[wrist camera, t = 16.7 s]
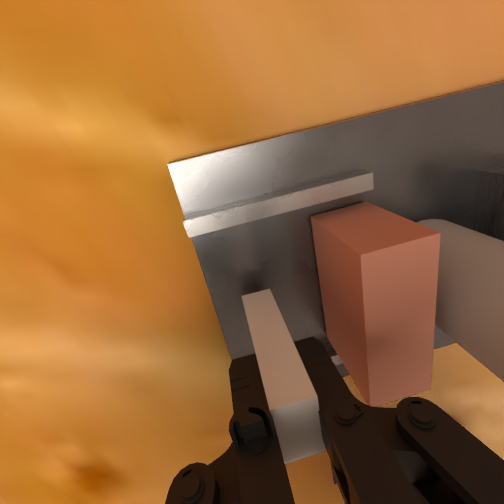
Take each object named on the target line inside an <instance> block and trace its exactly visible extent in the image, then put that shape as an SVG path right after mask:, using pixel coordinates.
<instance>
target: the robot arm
mask: <svg viewBox="0 0 504 504" xmlns="http://www.w3.org/2000/svg"><path fill="white" fill-rule="evenodd" d="M242 300H243V304H244V309H245V313H246V317H247V321H248V325H249V329H250V333H251V337H252V341H253V345H254V349H255V353H254V354H251V355H247V356H243V357H240V358H236V359H233V360H232V363H231V365H230V368H229V376H230V385H231V392H232V402H233V410H234V414H233V416H232V418H231V420H230V424H229V432H230V435H231V438H232V441H233V442H232V444H231V446H230V447H229V448H228V450H227V451H226V452H225V453H224V454H223V455H221V456H220V457H219V458H217V459H216V460H215V461H213V462H212V463H210V464H209V465H206V464H203V463H198V462H197V463H193V464H189V465H188V466H186V467H185V468H183V469H182V470H180V472H179V473H178V474H177V475H176V477H175V478H174V479H173V482H172V484H171V486H170V488H169V492H168V495H167V499H166V502H165V504H295V502H294V498H293V494H292V491H291V487H290V483H289V479H288V475H287V471H286V467H285V464H287V463H290V462H293V461H296V460H300V459H303V458H306V457H309V456H313V455H316V454H319V453H322V452H326V450H325V447H326V449H327V452H328V454H329V457H330V460H331V467H332V474H333V479H334V484H336V483H337V484H338V486H339V489H340V491H341V494H342V496H343V499H344V502H345V504H504V460H503V459H502V458H500V457H499V456H498V455H497V454H495V453H494V452H493V451H492V450H491V449H489V448H488V447H487V446H486V445H485V444H483V443H482V442H481V441H480V440H478V439H477V438H476V437H475V436H474V435H472V434H471V433H470V432H469V431H467V430H466V429H465V428H464V427H463V426H461V425H460V424H459V423H458V422H456V421H455V420H454V419H453V418H452V417H450V416H449V415H448V414H447V413H446V412H444V411H443V410H442V409H441V408H439V407H438V406H437V405H435V404H434V403H432V402H430V401H429V400H426V399H423V398H420V397H408V398H405V399H402V400H401V401H400V402H399V403H398V404H397V408H379V407H372V406H369V405H366V404H364V403H362V402H360V401H359V400H357V399H356V398H355V397H354V396H353V395H352V393H351V392H350V390H349V389H348V387H347V385H346V383H345V382H344V380H343V378H342V376H341V375H340V373H339V371H338V369H337V368H336V366H335V364H334V363H333V361H332V359H331V357H330V356H329V355H328V352H327V350H326V349H325V347H324V345H323V343H321V342H320V341H319V340H317V339H316V338H315V337H313V336H312V337H309V338H305V339H301V340H298V341H294V342H293V340H292V338H291V335H290V333H289V331H288V329H287V326H286V324H285V322H284V319H283V317H282V315H281V313H280V310H279V308H278V306H277V304H276V301H275V299H274V297H273V295H272V292H271V290H270V289H266V290H262V291H259V292H255V293H251V294H247V295H243V296H242Z"/></svg>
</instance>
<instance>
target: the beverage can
mask: <svg viewBox="0 0 504 504" xmlns="http://www.w3.org/2000/svg"><path fill="white" fill-rule="evenodd" d="M416 223H418V224H421V225H423V226H425V227H428V228H430V229H433V230H435V231H437V232H440V249H439V265H438V281H437V298H436V314H435V325H436V326H437V327H438V328H440V329H441V330H442V331H443V332H444V333H446V334H447V335H448V336H449V337H450V338H452V339H453V340H454V341H455V342H456V343H458V344H459V345H460V346H461V347H462V348H464V349H465V350H466V351H467V352H468V353H470V354H471V355H472V356H473V357H474V358H476V359H477V360H478V361H479V362H480V363H482V364H483V365H484V366H485V367H487V368H488V369H489V370H490V371H491V372H493V373H494V374H495V375H496V376H497V377H499V378H500V379H501V380H502V381H503V382H504V241H502V240H499V239H496V238H493V237H490V236H488V235H485V234H482V233H479V232H477V231H474V230H471V229H468V228H465V227H463V226H460V225H457V224H454V223H452V222H449V221H446V220H441V219H428V220H422V221H419V222H416Z"/></svg>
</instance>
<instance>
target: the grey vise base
mask: <svg viewBox="0 0 504 504" xmlns="http://www.w3.org/2000/svg"><path fill="white" fill-rule="evenodd" d="M167 165H168V168H169V171H170V174H171V177H172V180H173V183H174V186H175V189H176V192H177V195H178V198H179V201H180V204H181V207H182V210H183V213H184V219H183V223H184V226H185V229H186V232H187V235H188V238H190V237H191V238H192V241H193V244H194V247H195V250H196V253H197V256H198V259H199V262H200V265H201V268H202V271H203V274H204V277H205V280H206V283H207V286H208V289H209V292H210V295H211V298H212V301H213V304H214V307H215V310H216V313H217V316H218V319H219V322H220V325H221V328H222V332H223V335H224V338H225V341H226V344H227V347H228V350H229V353H230V356H231V359H232V360H233V359H236V358H240V357H243V356H247V355H251V354H254V353H255V349H254V345H253V341H252V337H251V333H250V329H249V325H248V321H247V317H246V313H245V309H244V304H243V300H242V296H243V295H247V294H251V293H255V292H259V291H262V290H266V289H270V290H271V292H272V295H273V297H274V299H275V301H276V304H277V306H278V308H279V310H280V313H281V315H282V317H283V319H284V322H285V324H286V326H287V329H288V331H289V333H290V335H291V338H292V340H293V342H294V341H298V340H301V339H305V338H309V337H312V336H313V337H315V338H316V339H317V340H319V341H320V342H321V343H323V345H324V347H325V349H326V350H327V352H328V355H329V356H330V357H331V359H332V361H333V363H334V364H335V366H336V368H337V369H338V371H339V373H340V375H341V376H342V377H344V376H348V375H350V374H349V372H348V371H347V369H346V367H345V366H344V364H343V363H342V361H341V359H340V358H339V356H338V354H337V353H336V351H335V349H334V348H333V346H332V345H331V343H330V341H329V340H328V338H327V333H326V326H325V318H324V311H323V304H322V297H321V289H320V282H319V275H318V268H317V260H316V253H315V246H314V239H313V231H312V224H311V217H310V216H314V215H317V214H321V213H325V212H329V211H332V210H336V209H340V208H344V207H348V206H351V205H355V204H359V203H363V202H368V203H371V204H373V205H376V206H378V207H380V208H383V209H385V210H387V211H390V212H392V213H395V214H397V215H399V216H402V217H404V218H406V219H409V220H411V221H414V222H419V221H422V220H428V219H441V220H446V221H449V222H452V223H454V224H457V225H460V226H463V227H465V228H468V229H471V230H474V231H477V232H479V233H482V234H485V235H488V236H490V237H493V238H496V239H499V240H502V241H504V81H500V82H496V83H491V84H487V85H483V86H479V87H475V88H471V89H467V90H463V91H459V92H455V93H451V94H447V95H442V96H438V97H434V98H430V99H426V100H422V101H418V102H414V103H410V104H406V105H402V106H398V107H394V108H389V109H385V110H381V111H377V112H373V113H369V114H365V115H361V116H357V117H353V118H349V119H345V120H340V121H336V122H332V123H328V124H324V125H320V126H316V127H312V128H308V129H304V130H300V131H296V132H291V133H287V134H283V135H279V136H275V137H271V138H267V139H263V140H259V141H255V142H251V143H247V144H242V145H238V146H234V147H230V148H226V149H222V150H218V151H214V152H210V153H206V154H202V155H198V156H193V157H189V158H185V159H181V160H177V161H173V162H169V163H168V164H167ZM453 343H456V342H455V341H454V340H453V339H452V338H450V337H449V336H448V335H447V334H446V333H444V332H443V331H442V330H441V329H440V328H438V327H437V326H436V325H435V330H434V346H433V350H434V349H437V348H440V347H444V346H447V345H450V344H453Z"/></svg>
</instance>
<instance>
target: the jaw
mask: <svg viewBox="0 0 504 504" xmlns="http://www.w3.org/2000/svg"><path fill="white" fill-rule="evenodd" d="M310 217H311V224H312V231H313V239H314V246H315V253H316V260H317V268H318V275H319V282H320V289H321V297H322V304H323V311H324V318H325V326H326V333H327V338H328V340H329V341H330V343H331V345H332V346H333V348H334V349H335V351H336V353H337V354H338V356H339V358H340V359H341V361H342V363H343V364H344V366H345V367H346V369H347V371H348V372H349V374H350V376H351V377H352V379H353V381H354V382H355V384H356V385H357V387H358V389H359V390H360V392H361V394H362V395H363V397H364V399H365V400H366V402H367V403H368V405H369V406H372V407H376V406H380V405H383V404H386V403H389V402H392V401H396V400H399V399H402V398H405V397H408V396H412V395H415V394H418V393H421V392H424V391H428V390H431V378H432V362H433V346H434V330H435V314H436V298H437V281H438V265H439V249H440V232H437V231H435V230H433V229H430V228H428V227H425V226H423V225H421V224H418V223H416V222H414V221H411V220H409V219H406V218H404V217H402V216H399V215H397V214H395V213H392V212H390V211H387V210H385V209H383V208H380V207H378V206H376V205H373V204H371V203H368V202H363V203H359V204H355V205H351V206H348V207H344V208H340V209H336V210H332V211H329V212H325V213H321V214H317V215H314V216H310Z"/></svg>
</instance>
